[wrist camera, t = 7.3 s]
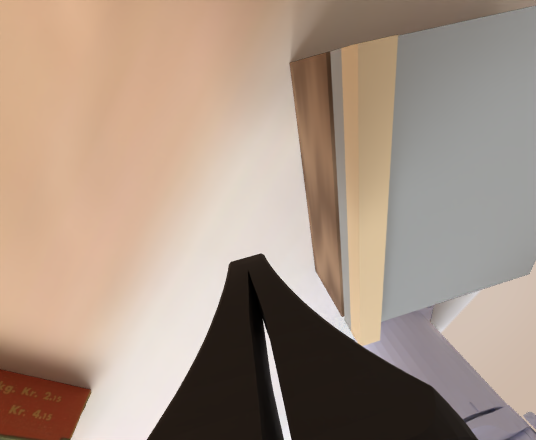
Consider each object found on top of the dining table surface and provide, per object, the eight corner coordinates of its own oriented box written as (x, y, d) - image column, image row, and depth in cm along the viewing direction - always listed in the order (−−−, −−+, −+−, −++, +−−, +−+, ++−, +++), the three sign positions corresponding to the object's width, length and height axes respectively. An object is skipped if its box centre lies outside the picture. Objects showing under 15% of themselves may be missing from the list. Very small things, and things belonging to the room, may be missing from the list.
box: (453, 229, 21) (510, 263, 17) (315, 270, 19) (342, 316, 16) (501, 16, 14) (618, -12, 10) (289, 62, 13) (325, 52, 9)
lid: (515, 266, 16) (548, 285, 15) (344, 320, 15) (360, 346, 14) (630, -15, 9) (714, -35, 8) (330, 51, 8) (357, 43, 7)
